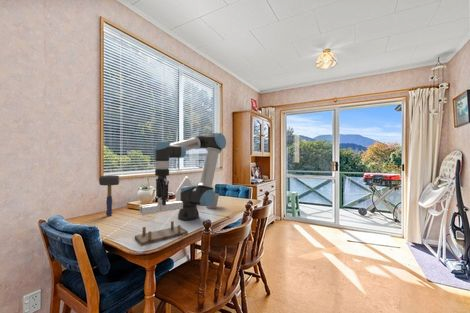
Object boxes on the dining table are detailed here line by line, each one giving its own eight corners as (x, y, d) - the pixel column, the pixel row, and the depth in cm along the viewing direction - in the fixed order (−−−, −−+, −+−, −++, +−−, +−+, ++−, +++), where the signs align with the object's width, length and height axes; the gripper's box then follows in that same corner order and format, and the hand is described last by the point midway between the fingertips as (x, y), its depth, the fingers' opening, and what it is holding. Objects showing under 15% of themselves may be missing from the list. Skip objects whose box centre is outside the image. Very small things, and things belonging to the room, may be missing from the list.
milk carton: (175, 205, 195) (176, 178, 195) (176, 202, 210) (176, 176, 210) (197, 204, 200) (197, 177, 200) (196, 201, 215) (196, 176, 215)
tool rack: (179, 228, 135) (179, 219, 135) (187, 233, 126) (188, 224, 126) (134, 238, 118) (134, 228, 118) (141, 245, 109) (141, 234, 109)
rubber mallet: (119, 213, 166) (119, 174, 166) (117, 216, 159) (118, 175, 159) (100, 215, 162) (101, 175, 162) (98, 217, 155) (98, 176, 155)
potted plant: (210, 205, 199) (211, 183, 199) (221, 207, 190) (222, 184, 190) (200, 207, 189) (200, 184, 189) (211, 210, 180) (211, 186, 180)
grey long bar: (179, 207, 132) (179, 200, 132) (183, 208, 127) (183, 202, 127) (139, 212, 118) (139, 205, 118) (142, 215, 113) (142, 207, 113)
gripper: (150, 167, 126) (149, 207, 126) (161, 169, 113) (160, 214, 113) (163, 167, 131) (162, 206, 131) (174, 169, 118) (174, 212, 118)
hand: (161, 209), depth 122 cm, fingers closed on grey long bar, 4 cm apart
